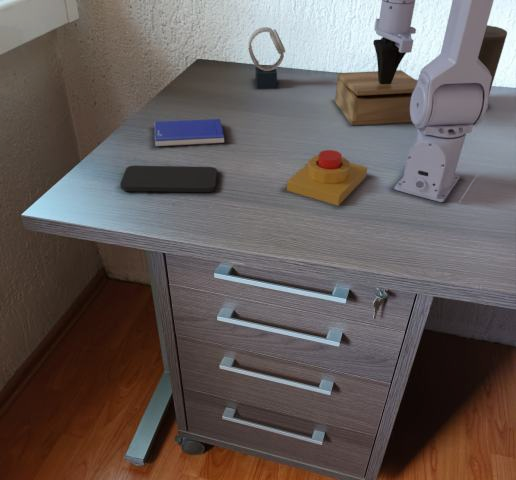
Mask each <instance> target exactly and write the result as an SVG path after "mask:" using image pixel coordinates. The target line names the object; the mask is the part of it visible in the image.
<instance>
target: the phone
mask: <svg viewBox="0 0 516 480" xmlns="http://www.w3.org/2000/svg"><path fill="white" fill-rule="evenodd" d="M217 178H218V169H217V168H216V167H213V166H182V165H181V166H180V165H179V166H177V165H175V166H174V165H129V166H127V167H126V168H125V171H124V173H123V176H122V178H121V181H120V189H121V190H123V191H125V192H126V191H128V192H132V191H133V192H172V193H173V192H176V193H177V192H178V193H211V192H214V191H216V187H217Z"/></svg>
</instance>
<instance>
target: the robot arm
mask: <svg viewBox="0 0 516 480" xmlns="http://www.w3.org/2000/svg"><path fill="white" fill-rule="evenodd" d="M494 1H495V0H451V6H450V9H449V14H448V19H447V23H446V28H445V33H444V36H443V40H442V46H441V49H440V53H439V55H437V56H436V57H435V58H434V59H432V60H431V61H430V62H428V63H427V64H426V65H424V67H423V68H421V69H420V72H419V74H418V78H417V81H418V82H417V85H416V87H415V89H414V91H413V93H412V96H411V101H410V117H411V120H412V122H411V123H412V124H413V125H414V127H415V128H416V134H415V138H414V143H413V146H412V147H411V148H410V149H409V150H408V151H409V152H408V154H407V156H406V160H405V165H404V170H403V176H402V177H401V178H400V180H399V181H398V182H397V183H396V184H395V186H394V187H393V189H394V190H395V191H398V192H402V193H405V194H409V195H413V196H416V197H419V198H423V199H427V200H431V201H433V202H434V201H435V202H439V203H443V202H445V200H446V199H447V197H448V196H449V195H450V193H451V191H452V190H453V189H454V187H455V185H457V183H458V181H459V180H460V175H458V174H456V171H457V168H458V167H457V166H458V163H459V160H460V157H461V153H462V150H463V147H464V143H465V138H466V137H467V134H470V133H472V131H473V127H475V126H477V125H479V124H480V123H481V122H482V120H483V119H484V117H485V116H486V114H487V112H488V108H489V104H490V94H489V90H490V84H491V80H492V76H491V74H490V72H489V70H488V69H487V67H486V66H485V65H484V64H483V63H482V62H481V61H480V60H479V59H478V56H479V52H480V48H481V45H482V41H483V38H484V34H485V30H486V27H487V25H488V23H489V19H490V15H491V12H492V7H493V4H494ZM380 4H381V6H380V10H379V18H375V22H374V23H375V24H374V32H375V34H376V35H377V36H379V37H381V38H379V39H373V47H374V50H375V54H376V61H377V71H378V80H379V83H380V84H391V82H392V80H393V78H394V75H395V73H396V70H398V68H399V66H400V64H401V62H402V60H403V59H404V57H405V56H406V55H407V53H412V50H413V46H414V39H413V38H412V35H415V34H416V32H417V29H416V28H415V27H413V26H412V21H413V15H414V11H415V5H416V0H381V3H380ZM490 91H491V90H490Z"/></svg>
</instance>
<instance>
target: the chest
mask: <svg viewBox="0 0 516 480" xmlns="http://www.w3.org/2000/svg"><path fill="white" fill-rule="evenodd" d="M411 96H412V93H398V94H379V95H359V96H357V95H356V94H355V93H354V92H353V91H352V90H351V89H350V88H349V87H347V86H346V85H345V84H344V83H343V82H342V81H341V80H340V79H339V78H338V77H337V78H336V87H335V95H334V97H335V98H334V102H335V104H336V106H337V107H338V108H339V110H340V111H341V112H342V113H343V115H344V117H345V118H346V120H347V121H348V122H349V124H350V125H351V126H362V125H363V126H365V125H380V124H381V125H382V124H397V123H398V124H399V123H400V124H401V123H413V122H412V120H411V117H410V101H411Z"/></svg>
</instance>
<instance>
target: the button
mask: <svg viewBox="0 0 516 480" xmlns="http://www.w3.org/2000/svg"><path fill="white" fill-rule="evenodd" d="M318 155H319V158H318V166H319V167H320V168H324V169H338V168H340V167H341V159H342V157H343V155H342V153H341V152H340V151H337V150H334V149H325V150H322V151H320V152H319V153H318Z"/></svg>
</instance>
